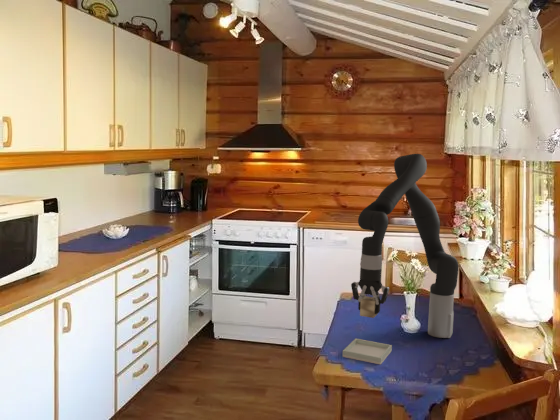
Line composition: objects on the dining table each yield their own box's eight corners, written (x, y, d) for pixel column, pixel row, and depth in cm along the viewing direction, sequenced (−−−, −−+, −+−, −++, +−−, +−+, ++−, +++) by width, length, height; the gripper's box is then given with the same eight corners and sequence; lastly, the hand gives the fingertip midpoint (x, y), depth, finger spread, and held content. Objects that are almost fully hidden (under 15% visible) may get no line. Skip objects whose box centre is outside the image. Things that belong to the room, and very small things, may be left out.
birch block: (377, 314, 200) (378, 298, 199) (373, 318, 196) (374, 301, 195) (364, 311, 202) (365, 296, 202) (359, 315, 198) (360, 299, 197)
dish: (391, 351, 204) (391, 345, 203) (380, 364, 191) (380, 358, 191) (355, 344, 210) (355, 338, 210) (342, 356, 198) (342, 350, 197)
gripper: (393, 266, 197) (391, 313, 199) (355, 262, 203) (353, 306, 205) (387, 271, 190) (385, 318, 192) (348, 265, 197) (346, 312, 199)
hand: (368, 312), depth 199 cm, fingers closed on birch block, 5 cm apart
